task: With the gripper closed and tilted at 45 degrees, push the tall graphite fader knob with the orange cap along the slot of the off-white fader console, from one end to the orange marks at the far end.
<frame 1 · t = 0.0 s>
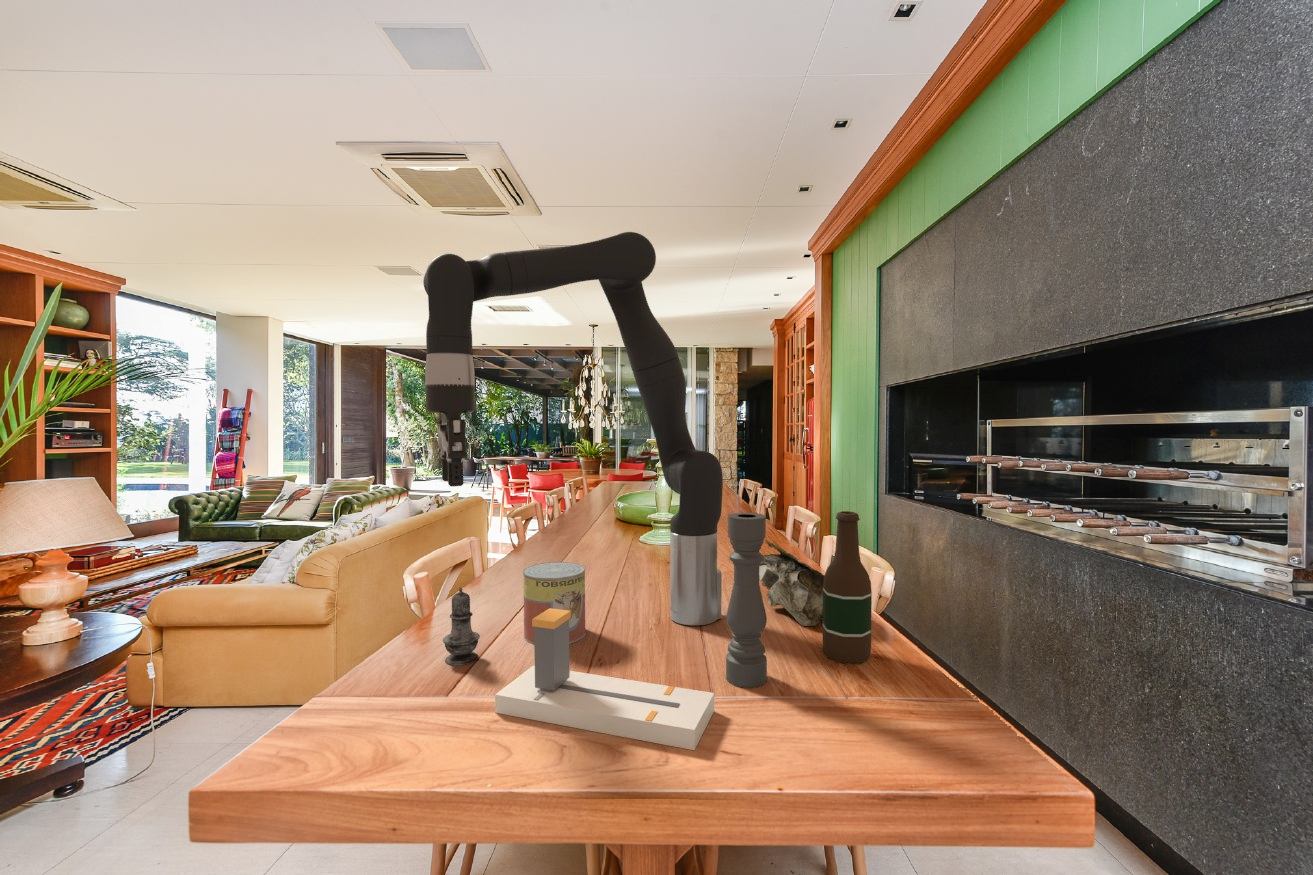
hand: (452, 483, 97), 29 cm above the table, tool pointing down, fingers open, 8 cm apart
beer bottle: (846, 656, 100), on the table
fader console: (604, 711, 81), on the table
fader knob: (552, 648, 84), point 8 cm above the table, slide at -8.0 cm
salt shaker: (461, 660, 99), on the table
canned food: (555, 635, 110), on the table
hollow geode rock: (798, 607, 126), on the table
candle holder: (746, 679, 91), on the table
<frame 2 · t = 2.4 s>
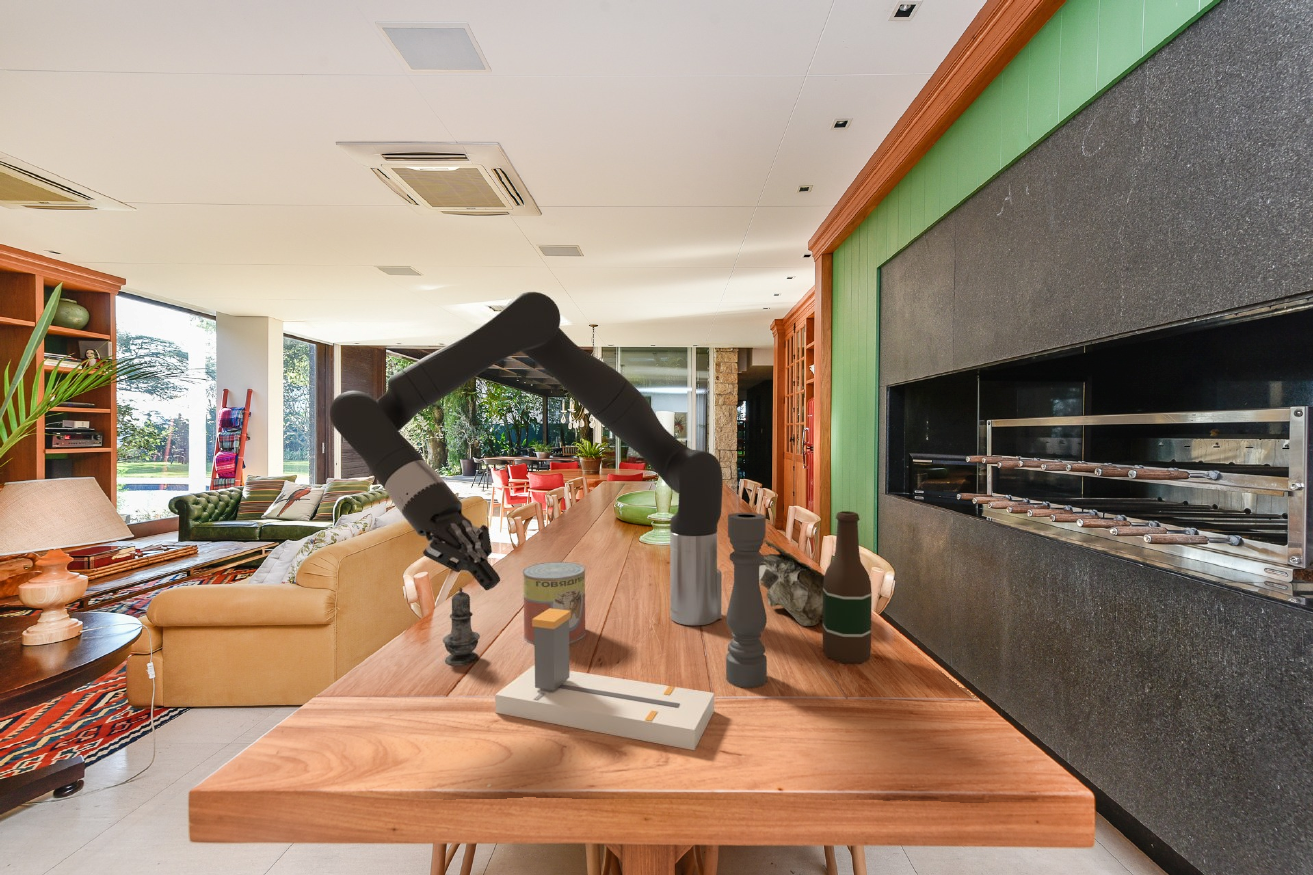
hand: (494, 585, 86), 16 cm above the table, tool tilted 45°, fingers closed
nothing on the table moved.
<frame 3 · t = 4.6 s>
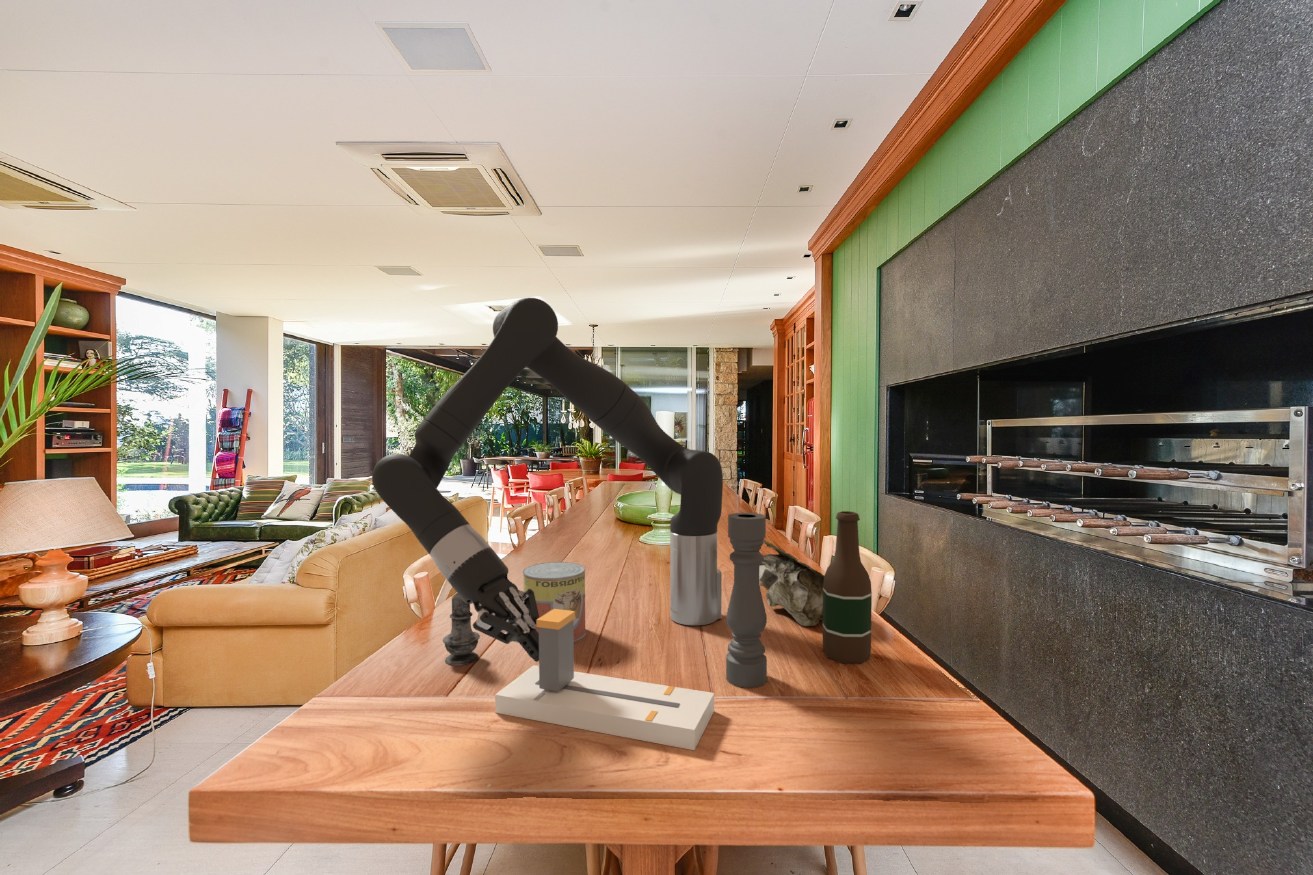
hand: (543, 656, 84), 6 cm above the table, tool tilted 45°, fingers closed
fader knob: (556, 649, 83), point 8 cm above the table, slide at -7.3 cm, touching gripper
everything else where it was.
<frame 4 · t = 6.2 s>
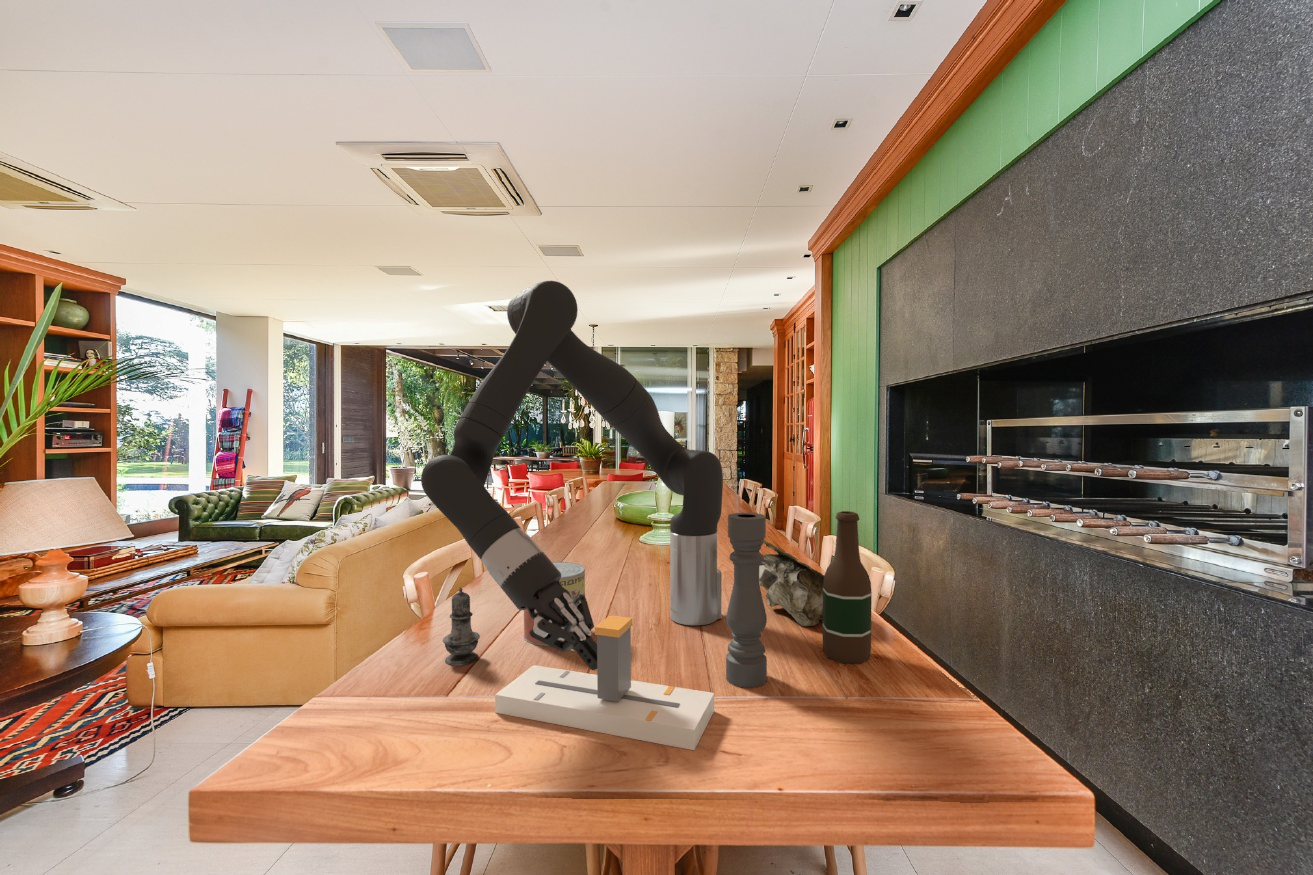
hand: (600, 664, 81), 6 cm above the table, tool tilted 45°, fingers closed
fader knob: (614, 657, 81), point 8 cm above the table, slide at 1.5 cm, touching gripper
everything else where it was.
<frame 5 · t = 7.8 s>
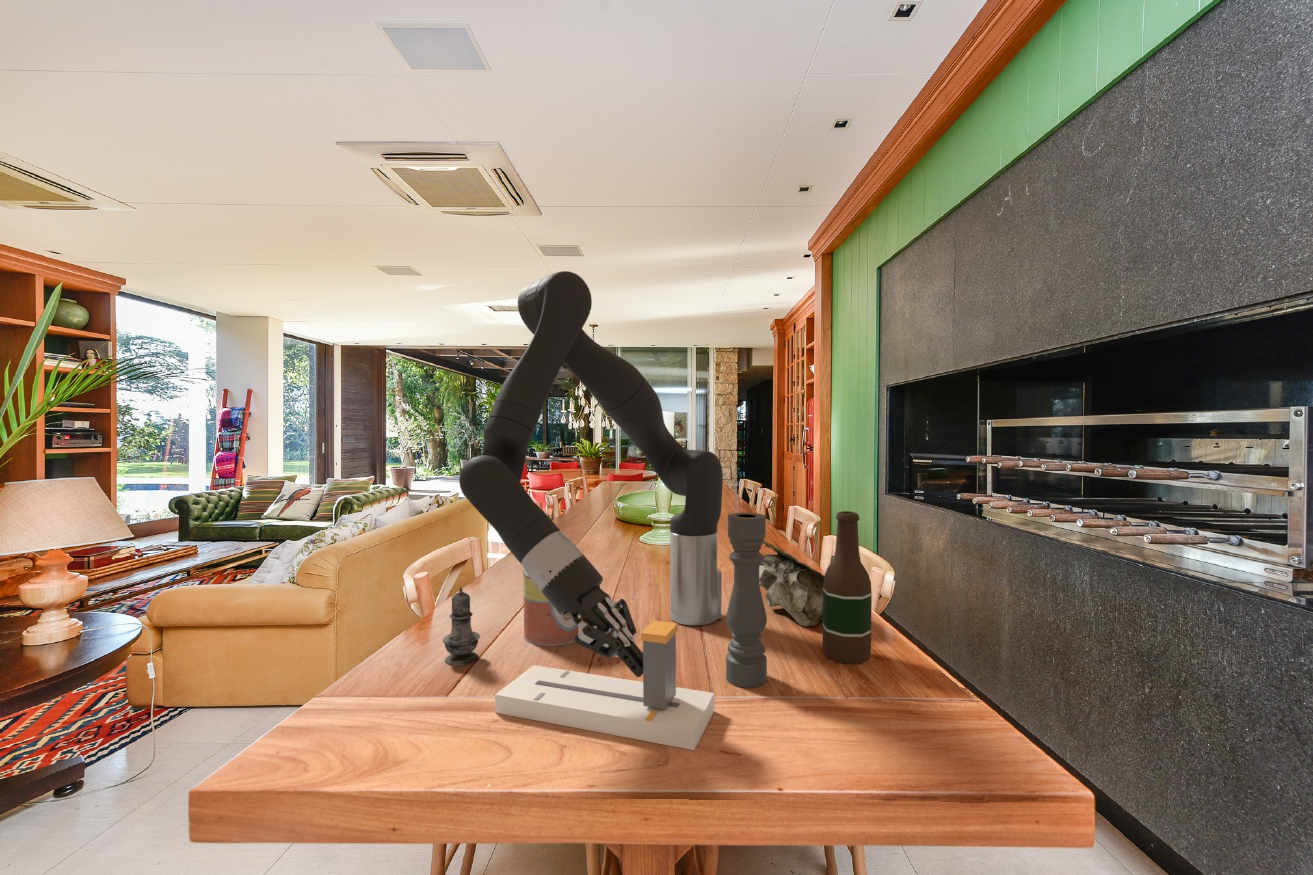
hand: (645, 671, 79), 6 cm above the table, tool tilted 45°, fingers closed
fader knob: (659, 663, 78), point 8 cm above the table, slide at 7.9 cm, touching gripper
everything else where it was.
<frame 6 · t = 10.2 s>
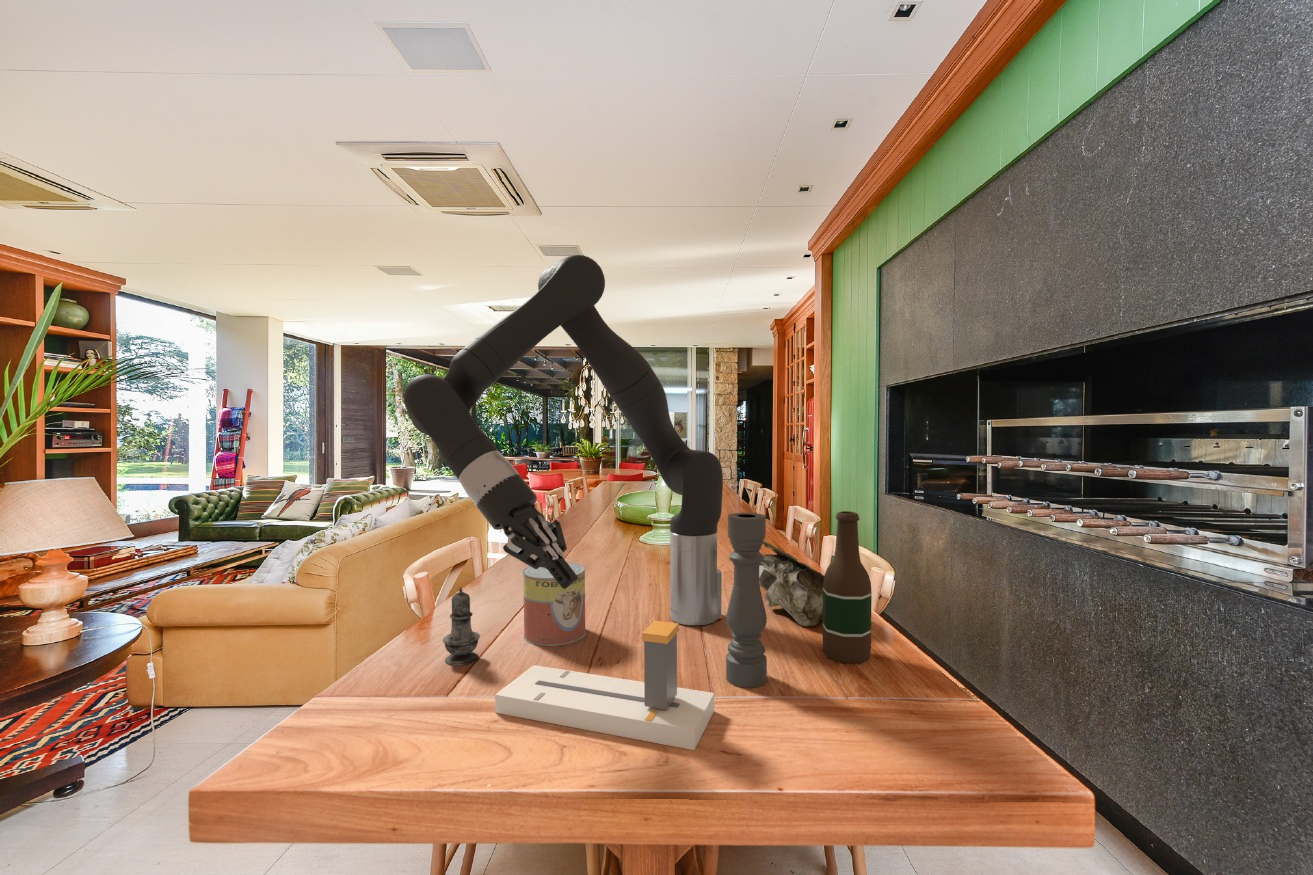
hand: (571, 583, 84), 17 cm above the table, tool tilted 40°, fingers closed
fader knob: (660, 664, 78), point 8 cm above the table, slide at 8.1 cm
everything else where it was.
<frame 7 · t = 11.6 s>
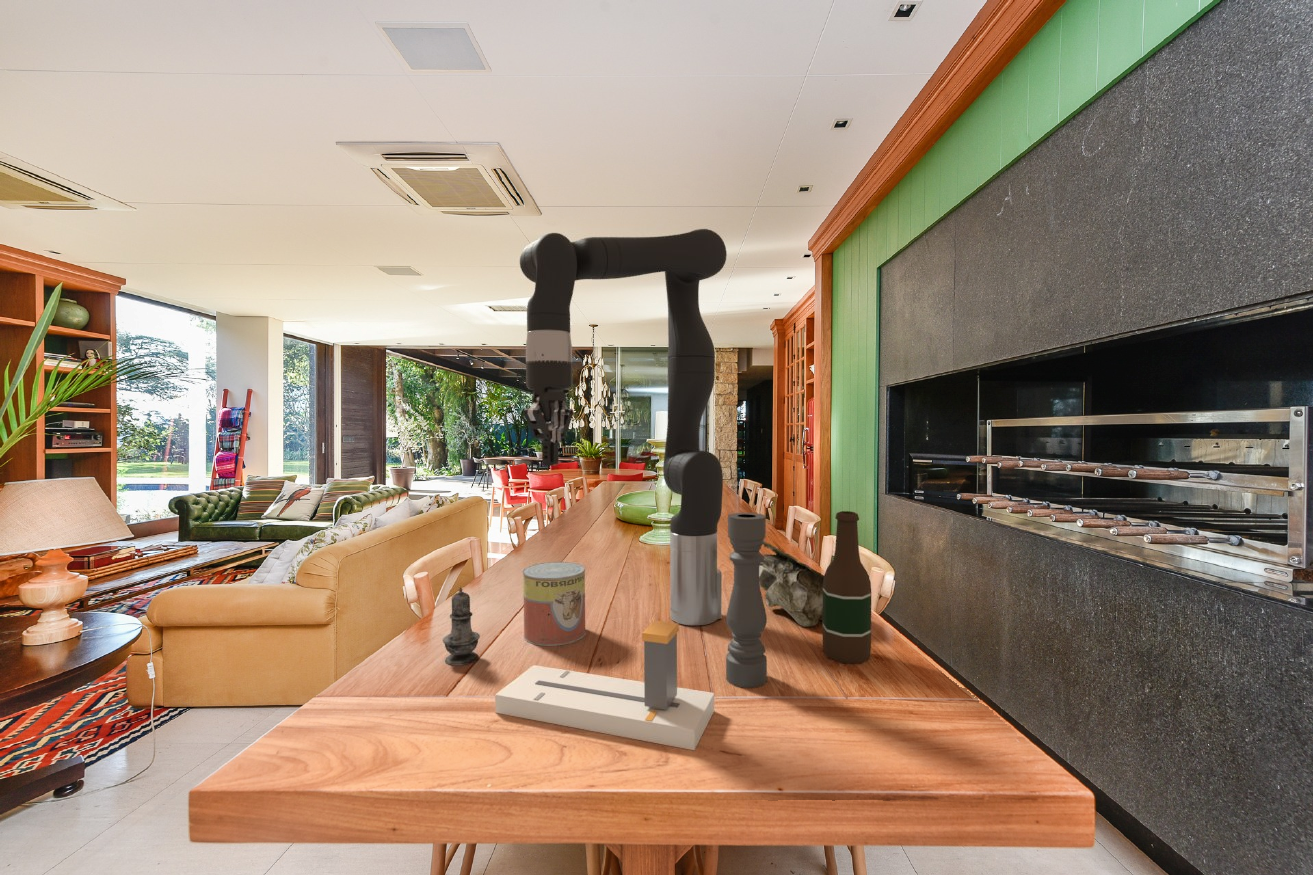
hand: (550, 465, 99), 32 cm above the table, tool pointing down, fingers closed
nothing on the table moved.
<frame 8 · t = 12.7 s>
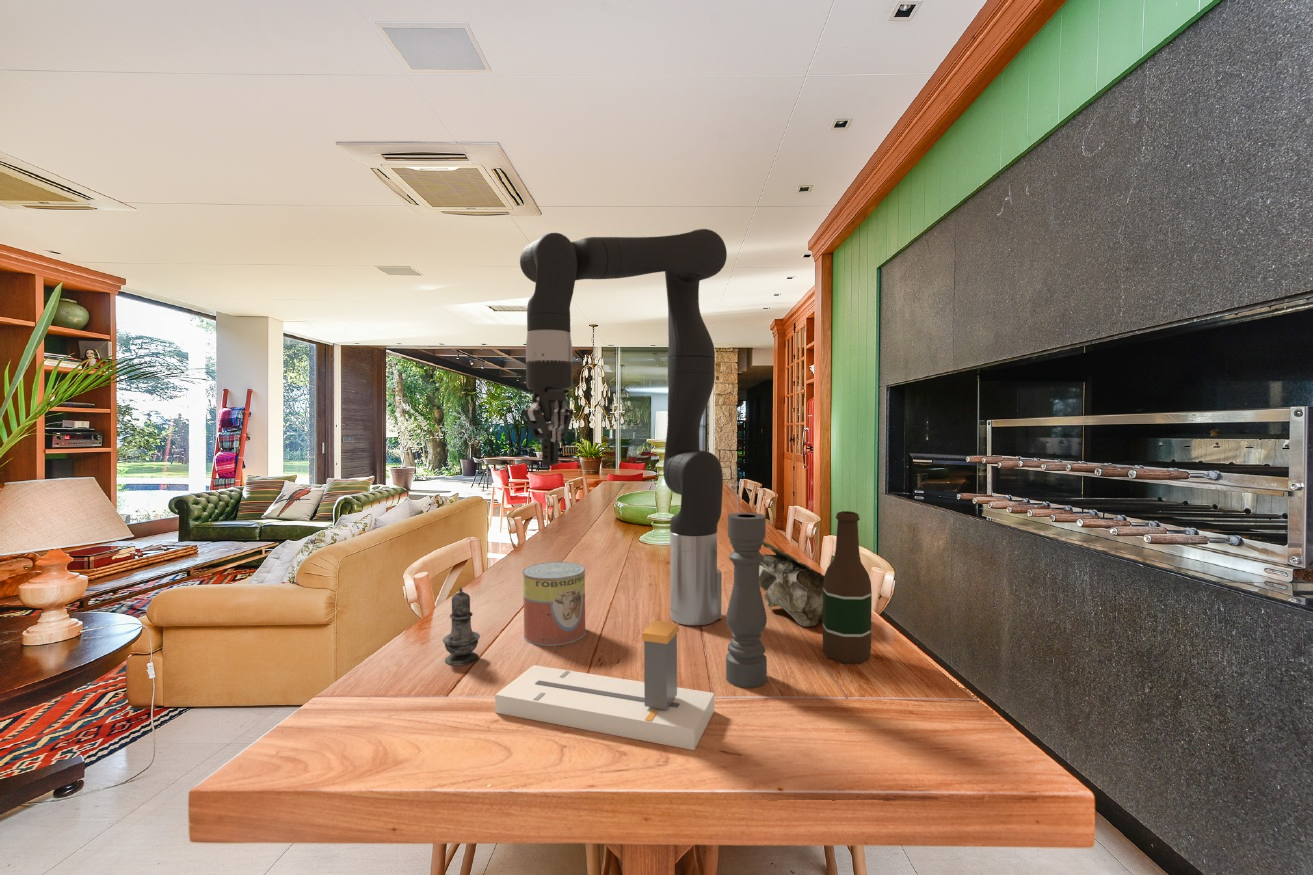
hand: (550, 464, 99), 32 cm above the table, tool pointing down, fingers closed
nothing on the table moved.
at the end: fader knob slide at 8.1 cm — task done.
